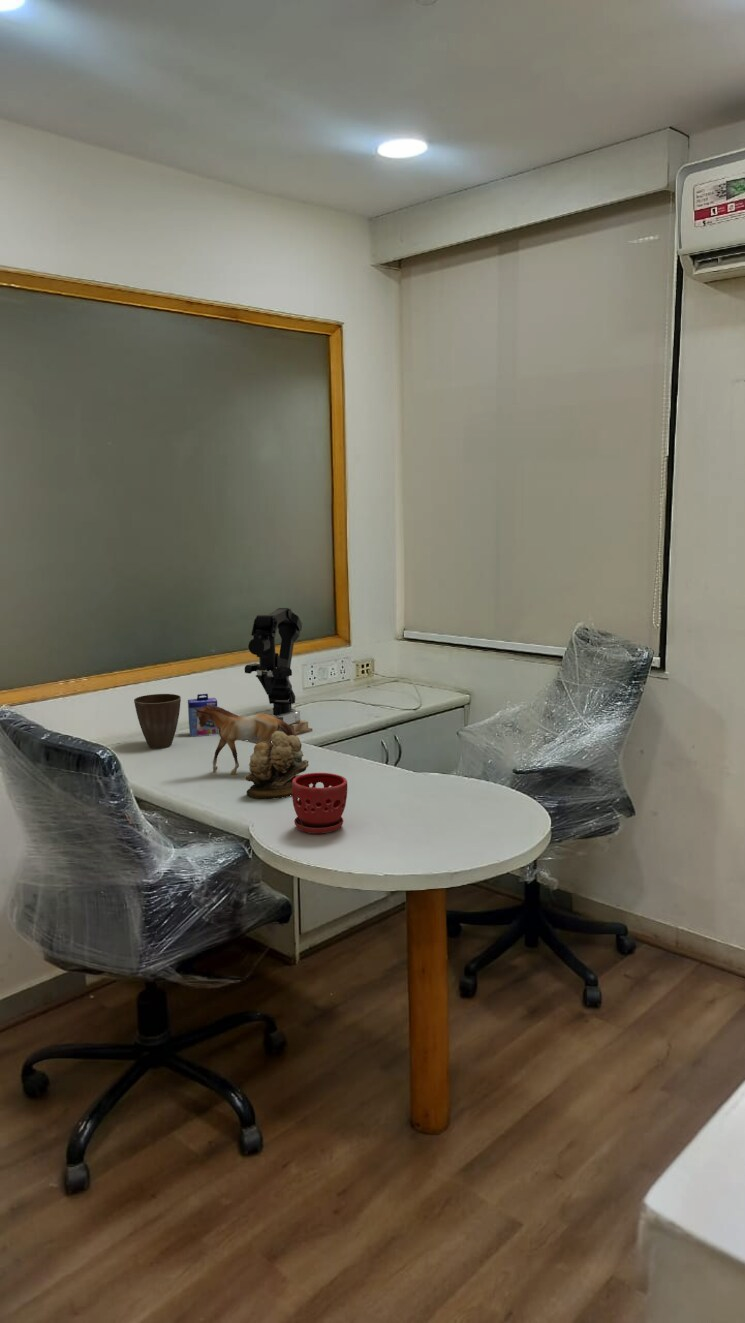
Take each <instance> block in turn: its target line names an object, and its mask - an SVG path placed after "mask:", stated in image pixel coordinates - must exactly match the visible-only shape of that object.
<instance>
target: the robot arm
mask: <svg viewBox="0 0 745 1323" xmlns="http://www.w3.org/2000/svg"><path fill="white" fill-rule="evenodd" d="M302 627H303V622H302V621H301V619H300V617H299V615H297V614H296V613H294V612H293V611H292V609H291V608H289V607H279V608H276V609H275V610H274V611H272V612H269V613H268V614H258V615H256V616H255V618H254V620H253V625H252V631H251V634H250V635H251V636H253V638H252V639H251V640H250V641H249V642H248V646H247V647H248V650H249V652H250V653H251V654H252V655H253V656H254V655H255V656H256V658H258V659H259V660H258V661H259V663H256V662H255V663H250V664H246V665H245V666H244V674H252V673H253V672H256V675H255V677H256V678H257V679H258V681H259V682H260V684H261V686H262V688H263V690H264V691H265V693H266V695H267V697H268V702H269V705H272V706H273V707H272V715H275V716H277V715H281V714H285V713H289V712H291V711H293V710H292V705H293V704H296V694H295V692H294V691H293V690H294V689H293V686H292V683H291V681H290V677H292V675H293V672H292V670H293V669H292V668H291V665H292V658H293V651H294V645H295V644H294V643H295V642H296V641H297V640H298V639H299V637H300V634H301V631H302ZM277 630H278V634H279V636H280V638H281V642H280V648H279V653H278V652H276V636H277V635H276V634H277Z"/></svg>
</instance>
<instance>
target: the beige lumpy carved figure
mask: <svg viewBox="0 0 745 1323" xmlns="http://www.w3.org/2000/svg"><path fill="white" fill-rule="evenodd" d="M271 741H272V744H273V747H272V749H271V747H270V746H269V745H268V744H266V743H263V742H260V743H258V744H257V743H255V745H254V747H253V753H251V755H250V757H249V758H250V759H249V764H248V766H249V767H248V769H249V771H250V773H247V774H245V778H244V779H245V780H246V781H247V782H252V783H253V785H251V786H250V787H249V788H248V789H247V791H246V796H247V797H249V798H251V799H253V800H274V799H273V798H278V799H283V798H282V797H285V798H287V797H286V796H290V795H292V780H293V779H294V778H295V777H297V776H298V775H299V774H301V773H304V772H306V771H307V768H308V767H309V760H308V759H303V756H302V754H303V751H302V742H301V740H300V738H299V737H298V735H297V736H294V735H290V736H287V735H286V734H285V733H284V732H282V731H276V732H274V733H273V734H272V735H271ZM303 755H304V754H303ZM302 786H305V785H302ZM290 797H291V796H290Z"/></svg>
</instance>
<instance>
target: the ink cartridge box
mask: <svg viewBox="0 0 745 1323" xmlns="http://www.w3.org/2000/svg"><path fill="white" fill-rule="evenodd" d="M207 705H211V706H216V707H218V700H217V698H216V697H209V694H208V693H203V694H202V693H200V694H199V693H198V694H197V698H193V699H192V698H191V699H190V698H189V699H187V712H188V715H187V716H188V729H189V736H190V737H191V736H193V737H198V736H197V735H205V736H210V735H209V734H218V735H219V731H218V728H217V727H216V726H215V724H214V723H213V721H212V720H211V719H209V720H208V721H207V722H206V724H205V725H204V729H203V730H202V731H199V730H198V729H197V716H196V711H197V710H195V709H194V708H198V709H199V708H201V707H203V706H207Z"/></svg>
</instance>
